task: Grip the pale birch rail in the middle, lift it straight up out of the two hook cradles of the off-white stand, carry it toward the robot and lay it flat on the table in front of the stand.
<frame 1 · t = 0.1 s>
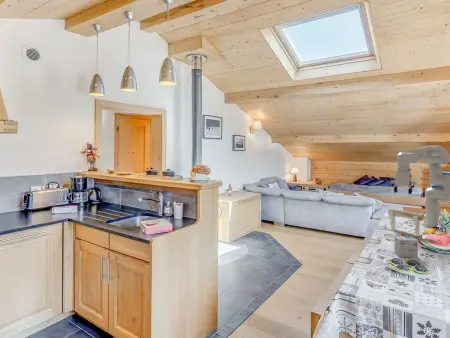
hand: (402, 193, 215), 31 cm above the table, tool pointing down, fingers open, 9 cm apart
rail: (405, 216, 221), point 12 cm above the table, touching rack
rack: (404, 232, 222), on the table
light bulb box: (405, 255, 175), on the table
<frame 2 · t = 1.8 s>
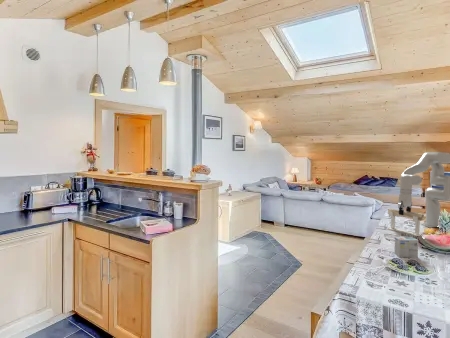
hand: (404, 214, 221), 14 cm above the table, tool pointing down, fingers open, 9 cm apart
nothing on the table moved.
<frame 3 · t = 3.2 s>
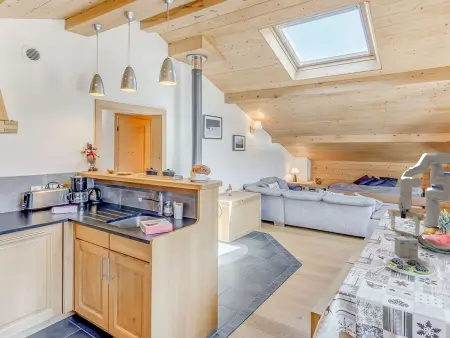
hand: (405, 217, 221), 11 cm above the table, tool pointing down, fingers closed on rail, 4 cm apart
rail: (405, 216, 221), point 12 cm above the table, touching gripper, rack
everything else where it was.
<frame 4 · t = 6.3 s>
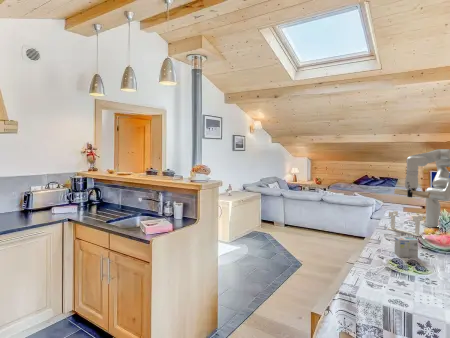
hand: (411, 196, 224), 27 cm above the table, tool pointing down, fingers closed on rail, 4 cm apart
rail: (411, 195, 224), point 28 cm above the table, touching gripper
everything else where it was.
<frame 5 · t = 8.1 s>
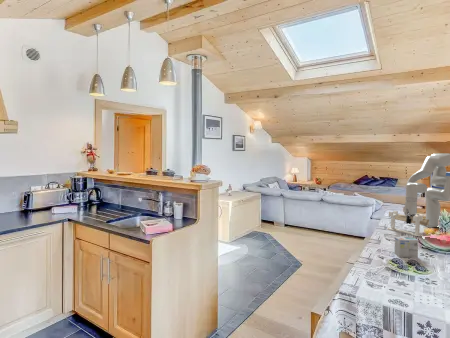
hand: (410, 222, 226), 6 cm above the table, tool pointing down, fingers closed on rail, 4 cm apart
rail: (410, 221, 225), point 7 cm above the table, touching gripper
everything else where it was.
when the fingers open (2 cm above the table, at t = 9.4 s): rail drops 3 cm, on the table.
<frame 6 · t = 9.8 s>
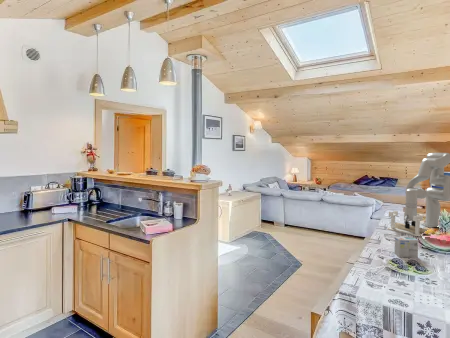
hand: (410, 227, 226), 3 cm above the table, tool pointing down, fingers open, 8 cm apart
rail: (410, 231, 226), on the table
everything else where it was.
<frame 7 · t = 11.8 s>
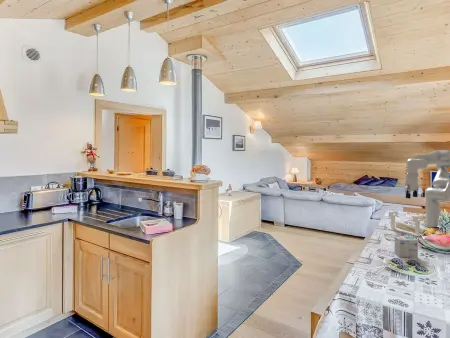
hand: (411, 197, 224), 26 cm above the table, tool pointing down, fingers open, 9 cm apart
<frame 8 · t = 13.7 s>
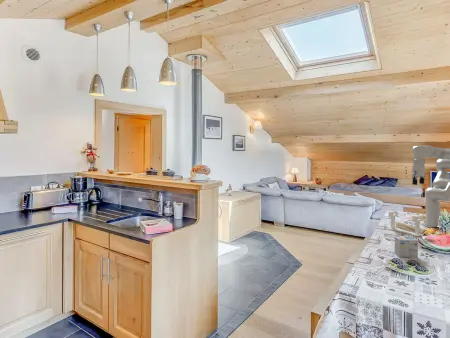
hand: (418, 184, 224), 36 cm above the table, tool pointing down, fingers open, 9 cm apart
nothing on the table moved.
at the end: rail inside the target area (0.2 cm from its centre), on the table; rail tilted 0°; the gripper is holding nothing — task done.
